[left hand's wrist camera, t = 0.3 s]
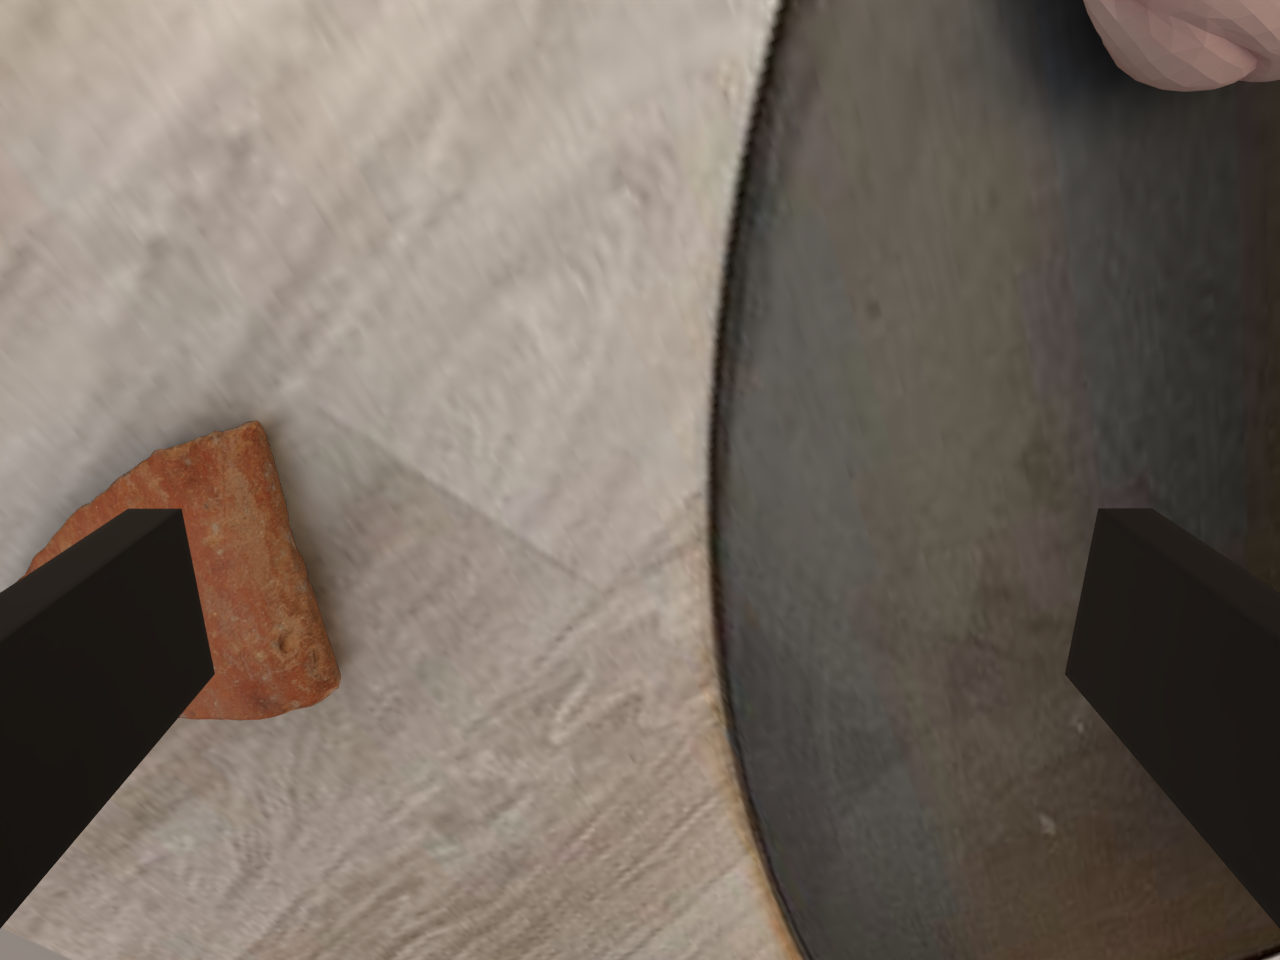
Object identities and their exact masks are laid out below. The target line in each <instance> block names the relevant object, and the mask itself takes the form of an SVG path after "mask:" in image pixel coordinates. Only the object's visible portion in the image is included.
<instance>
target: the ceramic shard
mask: <svg viewBox="0 0 1280 960" xmlns="http://www.w3.org/2000/svg"><path fill="white" fill-rule="evenodd" d="M127 509H182V513H183V518H184V523H185V528H186V533H187V538H188V543H189V547H190V552H191V557H192V562H193V567H194V572H195V577H196V582H197V587H198V592H199V597H200V602H201V607H202V612H203V617H204V622H205V627H206V632H207V637H208V642H209V647H210V652H211V657H212V662H213V667H214V672H215V675H214V676H213V677H212V678H211V679H210V681H209V682H208V683H207V684H206V685H205V687H204V688H203V689H202V690H201V691H200V692H199V694H198V695H197V696H196V697H195V698H194V700H193V701H192V702H191V703H190V704H189V705H188V707H187V708H186V709H185V710H184V711H183V713H182V714H181V715H180V716H179V717H178V718H187V719H229V720H260V719H265V718H271V717H275V716H278V715H281V714H284V713H287V712H289V711H291V710H296V709H300V708H305V707H311V706H313V705H315V704H316V703H318V702H320V701H322V700H323V699H325V698H326V697H328V696H329V695H330V694H331V693H332V692H333V691H334V690H335V689H337V688H338V687H339V684H340V680H341V674H340V670H339V668H338V665H337V663H336V660H335V657H334V654H333V651H332V648H331V644H330V641H329V639H328V636H327V632H326V629H325V626H324V623H323V620H322V617H321V614H320V610H319V607H318V604H317V601H316V597H315V595H314V592H313V589H312V586H311V583H310V581H309V579H308V576H307V570H306V565H305V562H304V560H303V558H302V556H301V554H300V553H299V551H298V549H297V547H296V544H295V541H294V538H293V536H292V532H291V529H290V526H289V517H288V511H287V507H286V503H285V499H284V495H283V492H282V488H281V484H280V480H279V476H278V473H277V470H276V467H275V463H274V459H273V455H272V452H271V449H270V445H269V442H268V439H267V436H266V433H265V431H264V429H263V427H262V425H261V424H260V423H259V422H258V421H251V422H247V423H245V424H243V425H241V426H239V427H237V428H234V429H228V430H226V431H224V432H219V431H214V432H212V433H210V434H209V435H207V436H202V437H198V438H196V439H194V440H192V441H190V442H188V443H184V444H181V445H177V446H174V447H170V448H167V449H159V450H155V451H154V452H153V453H152V455H151V456H150V457H149V458H148V459H147V460H144V461H142V462H141V463H139V464H138V465H137V466H136V467H135V468H133V469H132V470H130V471H129V472H127V473H126V474H124V475H122V476H121V477H119V478H118V479H116V481H115V482H114V483H113V484H112V485H111V486H110V487H109V488H108V489H107V490H106V491H105V492H103V493H102V494H100V495H98V496H97V497H96V498H95V499H94V500H93V501H92V502H91V503H89V504H86V505H83V506H82V507H80V508H79V509H78V510H77V511H76V512H75V513H74V514H73V515H72V516H71V517H70V518H69V519H68V520H67V521H66V523H65V524H64V525H63V526H62V528H61V529H60V530H59V531H58V532H57V533H56V534H55V535H54V536H53V537H52V539H51V540H50V541H49V543H48V544H47V546H46V547H45V548H44V549H43V550H41V551H40V552H39V553H37V554H36V556H35V557H34V558H33V560H32V562H31V565H30V567H29V569H28V570H27V572H26V574H25V575H24V576H23V577H22V578H24V577H25V576H27V575H28V574H30V573H31V572H33V571H34V570H36V569H37V568H39V567H40V566H42V565H43V564H45V563H46V562H48V561H49V560H51V559H52V558H54V557H55V556H57V555H59V554H60V553H62V552H63V551H65V550H66V549H68V548H69V547H71V546H72V545H74V544H75V543H77V542H78V541H80V540H81V539H83V538H84V537H86V536H87V535H89V534H90V533H92V532H93V531H95V530H96V529H98V528H99V527H101V526H102V525H104V524H105V523H107V522H108V521H110V520H112V519H113V518H115V517H116V516H118V515H119V514H121V513H122V512H124V511H125V510H127ZM22 578H20V579H19V580H21V579H22ZM19 580H18V581H19ZM18 581H17V582H18Z"/></svg>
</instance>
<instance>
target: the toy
mask: <svg viewBox="0 0 1280 960" xmlns="http://www.w3.org/2000/svg"><path fill="white" fill-rule="evenodd" d="M1083 1H1084V4H1085V7H1086V10H1087V13H1088V15H1089V17H1090V19H1091V21H1092V23H1093V25H1094V27H1095V29H1096V31H1097V32H1098V34H1099V35H1100V37H1101V38H1102V42H1103V44H1104V46H1105V47H1106V49H1107V51H1108V52H1109V54H1110V55H1111V57H1112V59H1113V60H1114V62H1115V64H1116V65H1117V67H1119V68H1120V69H1121V70H1123V71H1124V72H1125V73H1126V74H1128V75H1129V76H1130V77H1132V78H1133V79H1134V80H1136V81H1138V82H1141V83H1144V84H1147V85H1150V86H1153V87H1156V88H1158V89H1162V90H1171V91H1182V92H1190V91H1202V90H1213V89H1217V88H1220V87H1223V86H1226V85H1229V84H1232V83H1235V82H1237V81H1238V80H1240V81H1247V82H1268V81H1274V80H1280V0H1083Z"/></svg>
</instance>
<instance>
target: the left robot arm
mask: <svg viewBox="0 0 1280 960" xmlns="http://www.w3.org/2000/svg"><path fill="white" fill-rule="evenodd" d="M214 675H215V672H214V667H213V662H212V657H211V652H210V647H209V642H208V637H207V632H206V627H205V622H204V617H203V612H202V607H201V602H200V597H199V592H198V587H197V582H196V577H195V572H194V567H193V562H192V557H191V552H190V547H189V543H188V538H187V533H186V528H185V523H184V518H183V513H182V509H127V510H125V511H124V512H122V513H121V514H119V515H118V516H116V517H115V518H113V519H112V520H110V521H108V522H107V523H105V524H104V525H102V526H101V527H99V528H98V529H96V530H95V531H93V532H92V533H90V534H89V535H87V536H86V537H84V538H83V539H81V540H80V541H78V542H77V543H75V544H74V545H72V546H71V547H69V548H68V549H66V550H65V551H63V552H62V553H60V554H59V555H57V556H55V557H54V558H52V559H51V560H49V561H48V562H46V563H45V564H43V565H42V566H40V567H39V568H37V569H36V570H34V571H33V572H31V573H30V574H28V575H27V576H25V577H24V578H22V579H21V580H19V581H18V582H16V583H15V584H13V585H12V586H10V587H9V588H7V589H6V590H4V591H2V592H1V593H0V928H1V927H2V926H3V925H4V924H5V922H6V921H7V920H8V919H9V918H10V916H11V915H12V914H13V913H14V912H15V910H16V909H17V908H18V907H19V906H20V905H21V903H22V902H23V901H24V900H25V899H26V897H27V896H28V895H29V894H30V893H31V892H32V890H33V889H34V888H35V887H36V886H37V884H38V883H39V882H40V881H41V880H42V878H43V877H44V876H45V875H46V874H47V873H48V871H49V870H50V869H51V868H52V867H53V865H54V864H55V863H56V862H57V861H58V860H59V858H60V857H61V856H62V855H63V854H64V852H65V851H66V850H67V849H68V848H69V846H70V845H71V844H72V843H73V842H74V841H75V839H76V838H77V837H78V836H79V835H80V833H81V832H82V831H83V830H84V829H85V828H86V826H87V825H88V824H89V823H90V822H91V820H92V819H93V818H94V817H95V816H96V815H97V813H98V812H99V811H100V810H101V809H102V807H103V806H104V805H105V804H106V803H107V801H108V800H109V799H110V798H111V797H112V796H113V794H114V793H115V792H116V791H117V790H118V788H119V787H120V786H121V785H122V784H123V783H124V781H125V780H126V779H127V778H128V777H129V775H130V774H131V773H132V772H133V771H134V769H135V768H136V767H137V766H138V765H139V764H140V762H141V761H142V760H143V759H144V758H145V756H146V755H147V754H148V753H149V752H150V751H151V749H152V748H153V747H154V746H155V745H156V743H157V742H158V741H159V740H160V739H161V737H162V736H163V735H164V734H165V733H166V732H167V730H168V729H169V728H170V727H171V726H172V724H173V723H174V722H175V721H176V720H177V719H178V717H179V716H180V715H181V714H182V713H183V711H184V710H185V709H186V708H187V707H188V705H189V704H190V703H191V702H192V701H193V700H194V698H195V697H196V696H197V695H198V694H199V692H200V691H201V690H202V689H203V688H204V687H205V685H206V684H207V683H208V682H209V681H210V679H211V678H212V677H213V676H214ZM1065 675H1066V676H1067V677H1068V678H1069V679H1070V681H1071V682H1072V683H1073V684H1074V685H1075V687H1076V688H1077V689H1078V690H1079V691H1080V692H1081V694H1082V695H1083V696H1084V697H1085V698H1086V700H1087V701H1088V702H1089V703H1090V704H1091V705H1092V707H1093V708H1094V709H1095V710H1096V711H1097V713H1098V714H1099V715H1100V716H1101V717H1102V719H1103V720H1104V721H1105V722H1106V723H1107V724H1108V726H1109V727H1110V728H1111V729H1112V730H1113V732H1114V733H1115V734H1116V735H1117V736H1118V737H1119V739H1120V740H1121V741H1122V742H1123V743H1124V745H1125V746H1126V747H1127V748H1128V749H1129V751H1130V752H1131V753H1132V754H1133V755H1134V756H1135V758H1136V759H1137V760H1138V761H1139V762H1140V764H1141V765H1142V766H1143V767H1144V768H1145V769H1146V771H1147V772H1148V773H1149V774H1150V775H1151V777H1152V778H1153V779H1154V780H1155V781H1156V783H1157V784H1158V785H1159V786H1160V787H1161V788H1162V790H1163V791H1164V792H1165V793H1166V794H1167V796H1168V797H1169V798H1170V799H1171V800H1172V801H1173V803H1174V804H1175V805H1176V806H1177V807H1178V809H1179V810H1180V811H1181V812H1182V813H1183V815H1184V816H1185V817H1186V818H1187V819H1188V820H1189V822H1190V823H1191V824H1192V825H1193V826H1194V828H1195V829H1196V830H1197V831H1198V832H1199V833H1200V835H1201V836H1202V837H1203V838H1204V839H1205V841H1206V842H1207V843H1208V844H1209V845H1210V846H1211V848H1212V849H1213V850H1214V851H1215V852H1216V854H1217V855H1218V856H1219V857H1220V858H1221V860H1222V861H1223V862H1224V863H1225V864H1226V865H1227V867H1228V868H1229V869H1230V870H1231V871H1232V873H1233V874H1234V875H1235V876H1236V877H1237V878H1238V880H1239V881H1240V882H1241V883H1242V884H1243V886H1244V887H1245V888H1246V889H1247V890H1248V892H1249V893H1250V894H1251V895H1252V896H1253V897H1254V899H1255V900H1256V901H1257V902H1258V903H1259V905H1260V906H1261V907H1262V908H1263V909H1264V910H1265V912H1266V913H1267V914H1268V915H1269V916H1270V918H1271V919H1272V920H1273V921H1274V922H1275V924H1276V925H1277V926H1278V927H1279V928H1280V593H1279V592H1278V591H1276V590H1274V589H1273V588H1271V587H1270V586H1268V585H1267V584H1265V583H1264V582H1262V581H1261V580H1259V579H1258V578H1256V577H1255V576H1253V575H1252V574H1250V573H1249V572H1247V571H1246V570H1244V569H1243V568H1241V567H1240V566H1238V565H1237V564H1235V563H1234V562H1232V561H1231V560H1229V559H1228V558H1226V557H1225V556H1223V555H1221V554H1220V553H1218V552H1217V551H1215V550H1214V549H1212V548H1211V547H1209V546H1208V545H1206V544H1205V543H1203V542H1202V541H1200V540H1199V539H1197V538H1196V537H1194V536H1193V535H1191V534H1190V533H1188V532H1187V531H1185V530H1184V529H1182V528H1181V527H1179V526H1178V525H1176V524H1175V523H1173V522H1172V521H1170V520H1168V519H1167V518H1165V517H1164V516H1162V515H1161V514H1159V513H1158V512H1156V511H1155V510H1153V509H1098V513H1097V518H1096V523H1095V528H1094V533H1093V538H1092V543H1091V547H1090V552H1089V557H1088V562H1087V567H1086V572H1085V577H1084V582H1083V587H1082V592H1081V597H1080V602H1079V607H1078V612H1077V617H1076V622H1075V627H1074V632H1073V637H1072V642H1071V647H1070V652H1069V657H1068V662H1067V667H1066V672H1065Z"/></svg>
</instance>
